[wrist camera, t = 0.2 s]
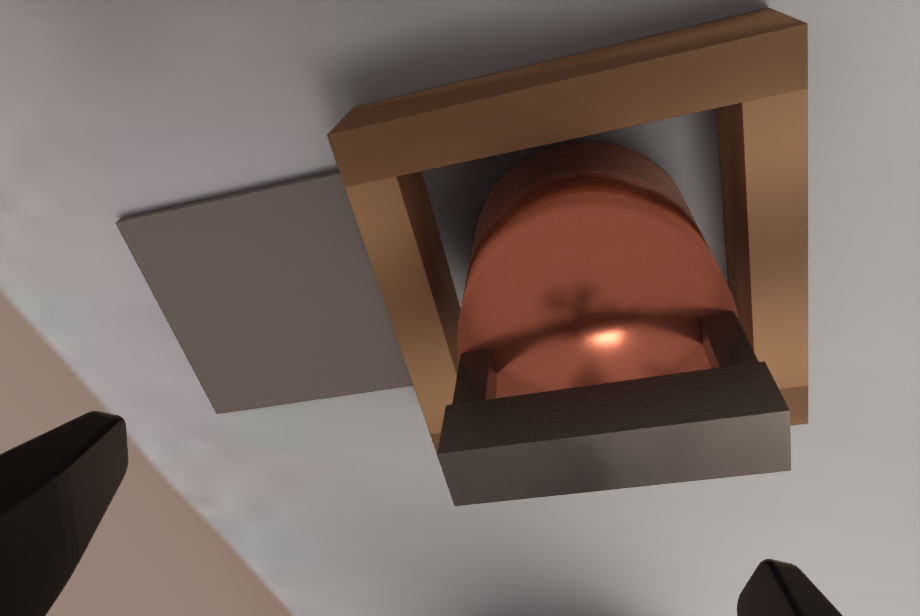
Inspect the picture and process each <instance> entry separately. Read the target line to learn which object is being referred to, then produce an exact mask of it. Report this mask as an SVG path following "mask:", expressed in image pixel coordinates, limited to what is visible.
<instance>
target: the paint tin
mask: <svg viewBox="0 0 920 616" xmlns="http://www.w3.org/2000/svg"><path fill="white" fill-rule="evenodd" d="M457 347H458V355H459V360H460V362H459V367H458V373H457V379H456V385H455V390H454V396H453V402H452V404H451V405H446V408H445V413H444V418H443V424H442V429H441V435H440V440H439V445H438V451H437V456H438V459H439V462H440V464H441V467H442V470H443V473H444V476H445V479H446V482H447V485H448V488H449V491H450V493H451V496H452V499H453V502H454V505H455V506H460V505H470V504H479V503H488V502H498V501H507V500H517V499H526V498H536V497H545V496H554V495H564V494H573V493H583V492H592V491H602V490H611V489H621V488H630V487H639V486H649V485H658V484H668V483H677V482H687V481H696V480H705V479H715V478H724V477H734V476H743V475H753V474H762V473H771V472H781V471H790V470H791V450H790V410H789V408H788V406H787V404H786V402H785V400H784V398H783V396H782V394H781V392H780V390H779V388H778V386H777V384H776V382H775V380H774V378H773V376H772V374H771V373H770V371H769V369H768V367H767V365H766V363H765V361H763V362H759V361H758V359H757V357H756V355H755V353H754V351H753V349H752V347H751V345H750V343H749V341H748V339H747V337H746V335H745V333H744V331H743V329H742V327H741V325H740V323H739V320H738V313H737V308H736V305H735V301H734V298H733V295H732V293H731V291H730V289H729V287H728V285H727V283H726V281H725V279H724V277H723V275H722V273H721V271H720V269H719V267H718V265H717V263H716V261H715V259H714V257H713V255H712V253H711V251H710V249H709V248H708V246H707V244H706V242H705V240H704V238H703V236H702V234H701V232H700V230H699V228H698V226H697V224H696V222H695V220H694V218H693V216H692V214H691V212H690V210H689V208H688V206H687V204H686V203H685V201H684V199H683V197H682V195H681V193H680V191H679V189H678V188H677V186H676V185H675V183H674V182H673V181H672V179H671V178H670V177H669V176H668V175H667V174H666V173H665V172H664V171H663V170H662V169H661V168H660V167H659V166H658V165H656V164H655V163H654V162H652V161H651V160H650V159H648V158H646V157H645V156H643V155H641V154H639V153H637V152H635V151H633V150H630V149H627V148H625V147H622V146H618V145H614V144H610V143H602V142H574V143H567V144H562V145H558V146H554V147H551V148H548V149H545V150H543V151H540V152H538V153H536V154H534V155H532V156H530V157H528V158H527V159H525V160H523V161H521V162H520V163H519V164H518V165H516V166H515V167H514V168H512V169H511V170H510V171H509V172H508V173H507V174H506V175H505V176H504V177H503V178H502V179H501V180H500V181H499V182H498V183H497V185H496V186H495V187H494V189H493V190H492V191H491V193H490V195H489V196H488V198H487V200H486V202H485V203H484V206H483V208H482V211H481V213H480V216H479V220H478V224H477V228H476V233H475V238H474V244H473V249H472V254H471V259H470V264H469V269H468V275H467V280H466V285H465V290H464V295H463V300H462V306H461V311H460V316H459V321H458V331H457Z"/></svg>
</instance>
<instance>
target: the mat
mask: <svg viewBox="0 0 920 616" xmlns="http://www.w3.org/2000/svg"><path fill="white" fill-rule="evenodd" d="M116 225H117V227H118V228H119V230H120V232H121V234H122V236H123V238H124V240H125V242H126V244H127V245H128V247H129V249H130V251H131V253H132V255H133V257H134V259H135V261H136V262H137V264H138V266H139V268H140V270H141V272H142V274H143V276H144V278H145V279H146V281H147V283H148V285H149V287H150V289H151V291H152V293H153V295H154V296H155V298H156V300H157V302H158V304H159V306H160V308H161V310H162V312H163V313H164V315H165V317H166V319H167V321H168V323H169V325H170V327H171V329H172V330H173V332H174V334H175V336H176V338H177V340H178V342H179V344H180V346H181V347H182V349H183V351H184V353H185V355H186V357H187V359H188V361H189V363H190V364H191V366H192V368H193V370H194V372H195V374H196V376H197V378H198V380H199V381H200V383H201V385H202V387H203V389H204V391H205V393H206V395H207V397H208V399H209V400H210V402H211V404H212V406H213V408H214V410H215V412H216V414H221V413H228V412H234V411H241V410H248V409H255V408H262V407H269V406H275V405H282V404H289V403H296V402H303V401H310V400H317V399H323V398H330V397H337V396H344V395H351V394H358V393H365V392H371V391H378V390H385V389H392V388H399V387H406V386H412V385H413V383H412V380H411V377H410V374H409V371H408V368H407V365H406V362H405V360H404V357H403V354H402V351H401V348H400V345H399V342H398V339H397V336H396V333H395V331H394V328H393V325H392V322H391V319H390V316H389V313H388V310H387V307H386V304H385V302H384V299H383V296H382V293H381V290H380V287H379V284H378V281H377V278H376V275H375V273H374V270H373V267H372V264H371V261H370V258H369V255H368V252H367V249H366V247H365V244H364V241H363V238H362V235H361V232H360V229H359V226H358V223H357V220H356V218H355V215H354V212H353V209H352V206H351V203H350V200H349V197H348V194H347V191H346V189H345V186H344V183H343V180H342V177H341V174H340V171H334V172H330V173H325V174H321V175H316V176H312V177H307V178H302V179H298V180H293V181H289V182H284V183H280V184H275V185H271V186H266V187H262V188H257V189H252V190H248V191H243V192H239V193H234V194H230V195H225V196H221V197H216V198H211V199H207V200H202V201H198V202H193V203H189V204H184V205H180V206H175V207H170V208H166V209H161V210H157V211H152V212H148V213H143V214H139V215H134V216H130V217H125V218H121V219H120V220H119V221H117V222H116Z"/></svg>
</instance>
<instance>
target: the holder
mask: <svg viewBox="0 0 920 616" xmlns="http://www.w3.org/2000/svg"><path fill="white" fill-rule="evenodd" d="M715 108H717V119H718V134H719V149H720V165H721V180H722V195H723V211H724V226H725V241H726V256H727V272H728V287H729V289H730V291H731V293H732V295H733V298H734V301H735V305H736V308H737V313H738V320H739V323H740V325H741V327H742V329H743V331H744V333H745V335H746V337H747V339H748V341H749V343H750V345H751V347H752V349H753V351H754V353H755V355H756V357H757V359H758V361H759V362H763V361H765V363H766V365H767V367H768V369H769V371H770V373H771V374H772V376H773V378H774V380H775V382H776V384H777V386H778V388H779V390H780V392H781V394H782V396H783V398H784V400H785V402H786V404H787V406H788V408H789V410H790V426H791V425H799V424H807V423H808V42H807V23H805V22H802V21H800V20H798V19H795V18H793V17H790V16H788V15H785V14H783V13H780V12H778V11H775V10H773V9H771V8H767V9H763V10H759V11H754V12H750V13H746V14H742V15H738V16H733V17H729V18H725V19H721V20H717V21H713V22H708V23H704V24H700V25H696V26H692V27H687V28H683V29H679V30H675V31H671V32H667V33H662V34H658V35H654V36H650V37H646V38H641V39H637V40H633V41H629V42H625V43H621V44H616V45H612V46H608V47H604V48H600V49H595V50H591V51H587V52H583V53H579V54H575V55H570V56H566V57H562V58H558V59H554V60H550V61H545V62H541V63H537V64H533V65H529V66H524V67H520V68H516V69H512V70H508V71H504V72H499V73H495V74H491V75H487V76H483V77H478V78H474V79H470V80H466V81H462V82H458V83H453V84H449V85H445V86H441V87H437V88H432V89H428V90H424V91H420V92H416V93H412V94H407V95H403V96H399V97H395V98H391V99H386V100H382V101H378V102H374V103H370V104H366V105H361V106H357V107H353V108H352V109H351V110H350V111H349V113H348V114H347V115H346V116H345V117H344V118H343V119H342V120H341V121H340V122H339V123H338V124H337V125H336V126H335V127H334V128H333V129H332V130H331V132H330V133H329V134H328V135H327V136H328V139H329V142H330V145H331V148H332V151H333V154H334V157H335V160H336V162H337V165H338V168H339V171H340V174H341V177H342V180H343V183H344V186H345V189H346V191H347V194H348V197H349V200H350V203H351V206H352V209H353V212H354V215H355V218H356V220H357V223H358V226H359V229H360V232H361V235H362V238H363V241H364V244H365V247H366V249H367V252H368V255H369V258H370V261H371V264H372V267H373V270H374V273H375V275H376V278H377V281H378V284H379V287H380V290H381V293H382V296H383V299H384V302H385V304H386V307H387V310H388V313H389V316H390V319H391V322H392V325H393V328H394V331H395V333H396V336H397V339H398V342H399V345H400V348H401V351H402V354H403V357H404V360H405V362H406V365H407V368H408V371H409V374H410V377H411V380H412V383H413V386H414V389H415V391H416V394H417V397H418V400H419V403H420V406H421V409H422V412H423V415H424V417H425V420H426V423H427V426H428V429H429V432H430V435H431V438H432V441H433V444H434V446H435V449H436V452H437V451H438V445H439V440H440V435H441V429H442V424H443V418H444V413H445V408H446V405H451V404H452V402H453V396H454V390H455V385H456V379H457V373H458V367H459V362H460V360H459V355H458V347H457V331H458V321H459V316H460V311H461V309H460V306H459V302H458V299H457V295H456V292H455V288H454V285H453V281H452V278H451V274H450V271H449V267H448V264H447V260H446V257H445V253H444V250H443V246H442V243H441V239H440V236H439V232H438V229H437V225H436V222H435V218H434V215H433V211H432V207H431V204H430V200H429V197H428V193H427V190H426V186H425V183H424V179H423V176H422V172H421V171H424V170H429V169H434V168H439V167H443V166H448V165H453V164H457V163H462V162H467V161H471V160H476V159H481V158H485V157H490V156H495V155H499V154H504V153H509V152H513V151H518V150H523V149H527V148H532V147H537V146H541V145H546V144H551V143H555V142H560V141H565V140H569V139H574V138H579V137H584V136H588V135H593V134H598V133H602V132H607V131H612V130H616V129H621V128H626V127H630V126H635V125H640V124H644V123H649V122H654V121H658V120H663V119H668V118H672V117H677V116H682V115H686V114H691V113H696V112H700V111H705V110H710V109H715Z"/></svg>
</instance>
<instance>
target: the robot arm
mask: <svg viewBox="0 0 920 616" xmlns="http://www.w3.org/2000/svg"><path fill="white" fill-rule="evenodd" d="M127 466H128V448H127V434H126V424H125V421H124V419H123V418H122V417H120V416H118V415H113V414H109V413H104V412H99V411H92V412H88V413H86V414H84V415H82V416H80V417H78V418H75V419H73V420H71V421H69V422H67V423H65V424H63V425H61V426H59V427H56V428H54V429H52V430H50V431H48V432H46V433H44V434H42V435H39V436H37V437H35V438H33V439H31V440H29V441H27V442H25V443H23V444H21V445H18V446H17V447H14V448H13V449H10V450H8V451H6V452H4V453H2V454H0V616H46V614H47V613H48V611H49V610H50V608H51V607H52V605H53V604H54V602H55V601H56V599H57V598H58V596H59V595H60V593H61V592H62V590H63V588H64V587H65V585H66V584H67V582H68V580H69V579H70V577H71V576H72V574H73V572H74V570H75V569H76V567H77V565H78V563H79V561H80V559H81V558H82V556H83V554H84V552H85V550H86V548H87V546H88V544H89V542H90V541H91V539H92V537H93V535H94V533H95V531H96V529H97V527H98V525H99V523H100V521H101V520H102V518H103V516H104V514H105V512H106V510H107V508H108V506H109V504H110V503H111V501H112V499H113V497H114V495H115V493H116V491H117V489H118V487H119V486H120V484H121V482H122V480H123V478H124V476H125V473H126V470H127ZM737 616H842V614H841V613H840V612H839V611H838V610H837V609H836V608H835V607H834V606H833V605H832V604H831V602H830V601H829V600H828V599H827V598H826V597H825V596H824V595H823V594H822V593H821V592H820V590H819V589H818V588H817V587H816V586H815V585H814V584H813V583H812V582H811V581H810V580H809V578H808V577H807V576H806V575H805V574H804V573H803V572H802V571H801V570H800V569H799V568H798V567H797V566H795V565H793V564H790V563H786V562H781V561H777V560H772V559H765V560H763V561H762V562H761V563H760V564H759V565H758V567H757V568H756V570H755V571H754V573H753V575H752V576H751V578H750V579H749V581H748V582H747V584H746V586H745V587H744V589H743V590H742V592H741V594H740V596H739V599H738V604H737Z"/></svg>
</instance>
